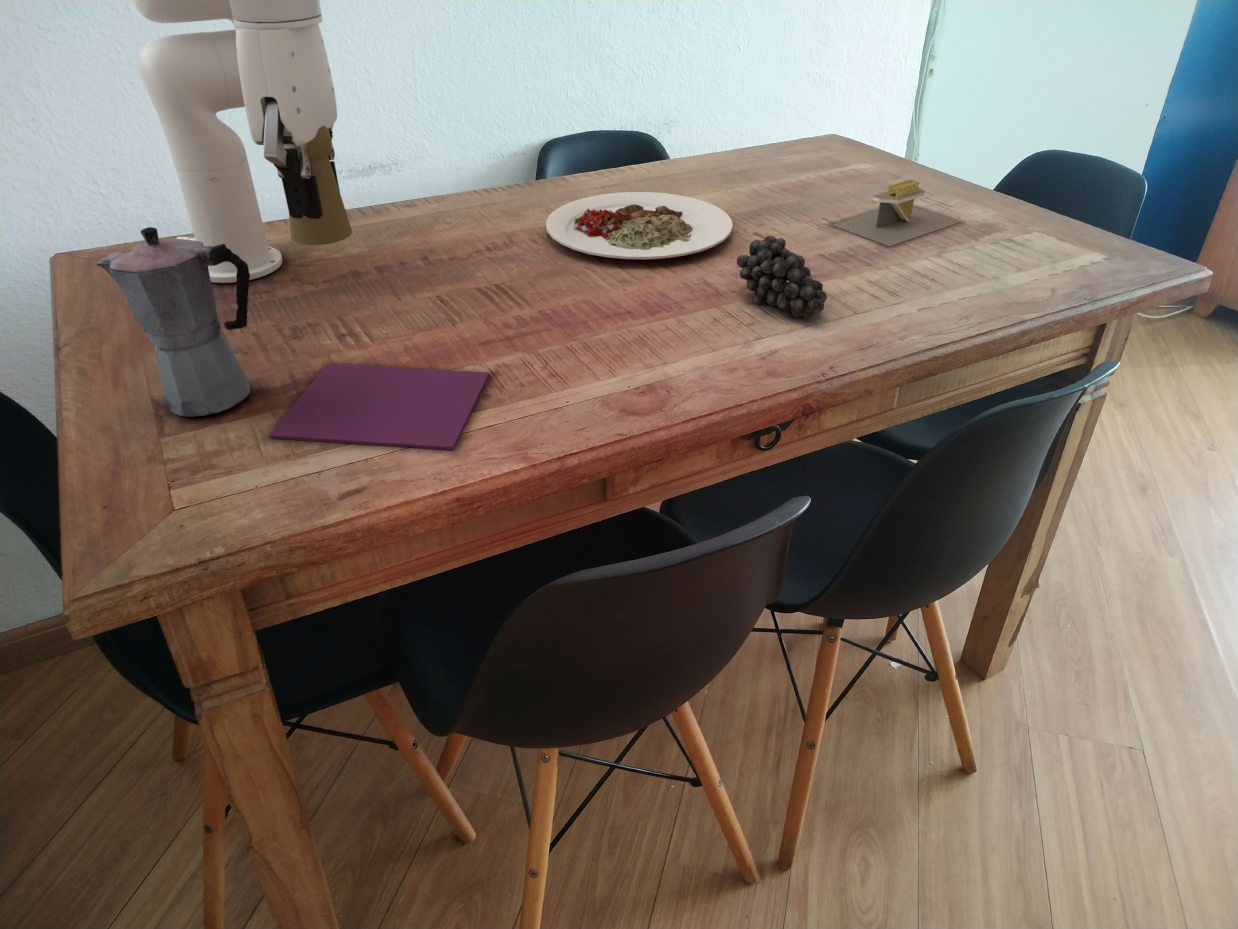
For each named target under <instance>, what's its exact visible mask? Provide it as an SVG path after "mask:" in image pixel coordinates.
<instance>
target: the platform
mask: <svg viewBox="0 0 1238 929" xmlns="http://www.w3.org/2000/svg"><path fill="white" fill-rule="evenodd" d="M925 193H926V191H925V190H924V189H922V188H921V187H920V181H918V180H916V179H911V178H910V179H907V180H903V181H900V182H896V183H894V184H890V185H888V189H887V191H885V192H882V193H878V194H875V195H873V196H872V201H874V202H877V203H879V205H878V210H876V211H872V212H870V213H866V214H862V215H860V216H857V217H853V218H850V219H847V220H844V221H840V222H837V223H833V224H832V226H834V227H836V228H839V229H841V230H844V231H847V232H849V233H851V234H855V235H858V236H860V237H862V238H865V239H868V240H870V241H874V242H877V243H879V244H881V245H885V246H887V247H892V246H895V245H898V244H901V243H903V242H906V241H910V240H912V239H916V238H918V237H921V236H924V235H927V234H930V233H932V232H936V231H938V230H942V229H945V228H947V227H950V226H954V225H956V224H959V223H960V222H959V221H958V220H954V219H951V218H948V217H946V216H942V215H939V214H936V213H933V212H929V211H927V210H924V209H920V208H917V207H914V203H915V199H918V198H922V197H924V196H925Z"/></svg>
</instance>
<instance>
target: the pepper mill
mask: <svg viewBox="0 0 1238 929" xmlns="http://www.w3.org/2000/svg"><path fill="white" fill-rule="evenodd" d="M292 139H293V138H292V136H283V142H286V143H294V142H292ZM307 150H308V154H309V161H310V170H311V176H316V181H317V186H318V191H319V196H320V201H321V206H322V212H323V215H322V217H320V218H319V219H312V218H308V217H306V216H304V215H303V218H293V217H291V216H290V214H289V213H288V218H289V219H288V220H289V231H290V232H289V233H290V239H291V241H292V242H293V243H295V244H299V245H304V246H323V245H330V244H335V243H338V242H342V241H344V240H346V239H348V238H349V237H350V236H352V234H353V229H352V226H351V222H350V220H349V217H348V213H347V211H346V207H345V205H344V201H343V198H342V195H341V192H340V191H341V190H340V187H339V188H338V185H337V182H336V179H335V176H334V173H333V169H332V166H331V163H330V161H331V160H329V157H328V155H329V153H330V151H331V136H330V133H329V131H328V129H327V128H326V127H325V126H322V127H320V128H319V129H318V131H317V134H316V136H315V138H314V139H312V140H311V141H310V142H308V143H307ZM285 151H287V153H288V154H293V155H294V156H295V157H296V158H297V160H298V161H299V159H298V151H297V150H285ZM339 190H340V191H339Z"/></svg>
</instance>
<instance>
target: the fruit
mask: <svg viewBox="0 0 1238 929" xmlns="http://www.w3.org/2000/svg"><path fill="white" fill-rule="evenodd" d="M786 244H787V243H786V239H784V238H782V237H779V238H776V237H775V235H767V236H766V237H764V239H762V240H760V239H755V240H753V241H751V242H750V243H749V249H748V251H749V252H748V254H740V255H739V256H738V257H736V265H737V266H738V267H739V268H741V270H740V271H739V277H740V279H742V280H745V281H746V288H747V289H748V290H749V291H750V292H753V294H752V296H751V297H752V301H753V303H756V304H757V305H761V304H764V303H765V302H766V303H767V304H768V305H769V306H777V307H778V308H779V309H780V310H787V309H789V308H790V310H791V313H792V316H793V317H795V318H797V319H798V318H799V319H800V318H802V317H803V316H804V317H805V318H806V319H812V318H814V317H816V316H817V315H818V314H820V313H822V312H823V311H824V310H825V303H826V301H827V298H828V295H827V293H826V292H825V291H824V284H823V283H822V282H820V280H816V279H813V278H812V276H811V275H812V274H811V270H810V268H808V267H807V266H805V265H806V260H805V258H804V257H803V255H800V254H796V253H795V252H793V251H791V250H789V249H787V248H786V246H787V245H786Z"/></svg>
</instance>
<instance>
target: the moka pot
mask: <svg viewBox="0 0 1238 929" xmlns="http://www.w3.org/2000/svg"><path fill="white" fill-rule="evenodd" d="M140 234H141V235H142V237H143V239H144V241H145V242H144V243H140V244H137V245H135V246H133V247H130V248H127V249H125V250H117V251H115V252H112V253H108V254H106V256H104V257H103V258H101V259H100V260H99V261H97V263H96V266H97V267H100V268H102V269H104V270H105V271H106V273H107V274H109V276H110V277H111V278H112V279H113V281H115V282H116V284H117V285H118V288H119V289H120V291H121V293H122V295H123V296H124V299H125V300H126V302H127V304H128V306H129V308H130V309H131V311H132V313H133V315H134V317H135V319H136V320H137V322H138V324H139V326H140V327H141V329H142V331H143V332H144V333H146V334H148V335H147V336H148V338H149V340H150V343H151V345H153V346H154V353H155V359H156V363H157V366H158V370H159V375H160V378H161V384H162V386H163V390H164V391H163V392H164V395H165V399H166V400H165V401H166V404H167V407H168V410H169V411H171V412H172V413H173V414H175V415H177V416H180V417H185V418H194V417H205V416H210V415H214V414H218V413H221V412H223V411H226V410H229V409H231V408H233V407H235V406H236V405H238V404H240V403H241V402H242V401H243V400H245V399H246V398H247V397H248V396H250V394H251V385H250V382H249V380H248V378H247V376H246V374H245V372H244V370H243V368H242V366H241V364H240V362H239V360H238V359H237V356H236V354H235V352H234V350H233V348H232V347H231V344H230V342H229V341H228V339H227V336H226V335H225V332H224V331H223V329H222V326H221V323H220V319H219V317H218V311H217V310H218V309H217V303H216V299H215V294H214V289H213V285H212V282H211V279H210V274H209V269H208V266H215V265H218V264H220V263H222V262H231V263H232V264H234V265H235V267H236V268H237V274H236V277H237V281H236V282H235V283H236V290H235V291H236V293H235V297H236V306H237V308H236V313H235V320H225V322H223V326H224V329H225V330H227V331H232V330H237V329H242V328H243V329H244V328H245V327H248V312H249V309H248V304H249V289H250V288H249V287H250V280H249V278H250V274H249V269H248V265H247V263H246V262H245V261H243V260H241V259H240V257H239V256H238V255H236V254H234V253H233V252H231V250H230V249H228V248H226V245H225V244H221V245H217V246H214V247H213V246H203V243H202V242H201V241H193V240H184V239H177V238H170V239H164V240H163V239H162V240H160V239H159V234H158V228H156V227H153V226H149V227H145V228H143V229H141V230H140Z"/></svg>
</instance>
